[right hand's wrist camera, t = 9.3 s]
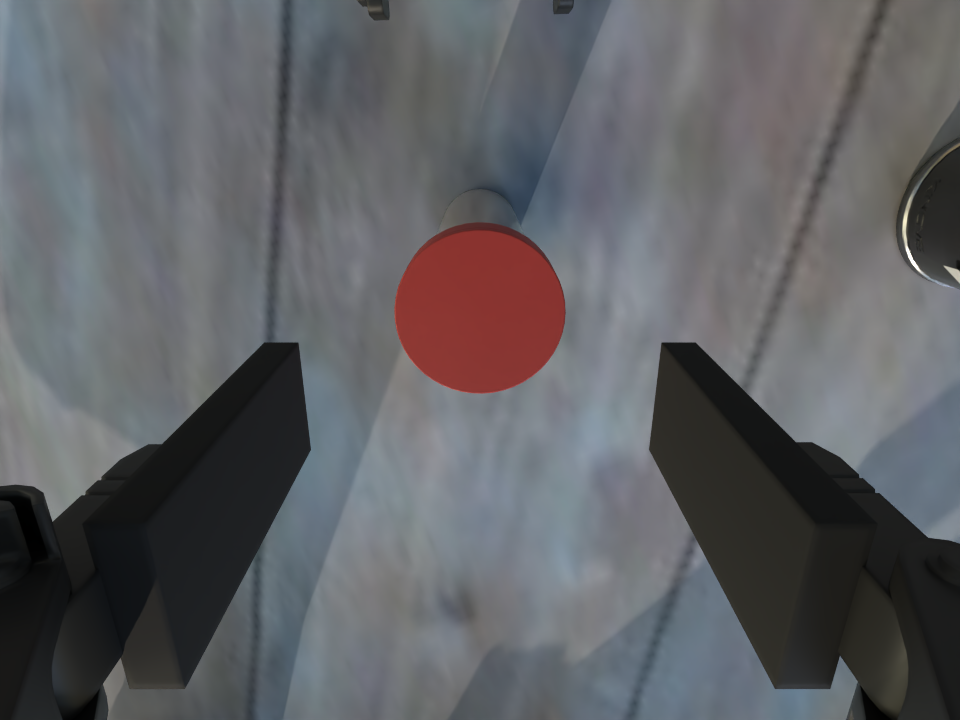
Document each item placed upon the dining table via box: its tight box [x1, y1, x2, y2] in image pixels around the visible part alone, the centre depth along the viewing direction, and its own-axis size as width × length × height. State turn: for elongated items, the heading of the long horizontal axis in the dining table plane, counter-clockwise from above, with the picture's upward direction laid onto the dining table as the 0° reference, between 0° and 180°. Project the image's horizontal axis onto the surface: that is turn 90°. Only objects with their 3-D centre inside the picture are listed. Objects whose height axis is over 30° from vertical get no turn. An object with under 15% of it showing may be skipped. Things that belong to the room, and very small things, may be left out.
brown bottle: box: [436, 189, 524, 235], centre depth 29 cm, size 5×5×18 cm
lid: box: [395, 222, 565, 393], centre depth 20 cm, size 6×6×2 cm
